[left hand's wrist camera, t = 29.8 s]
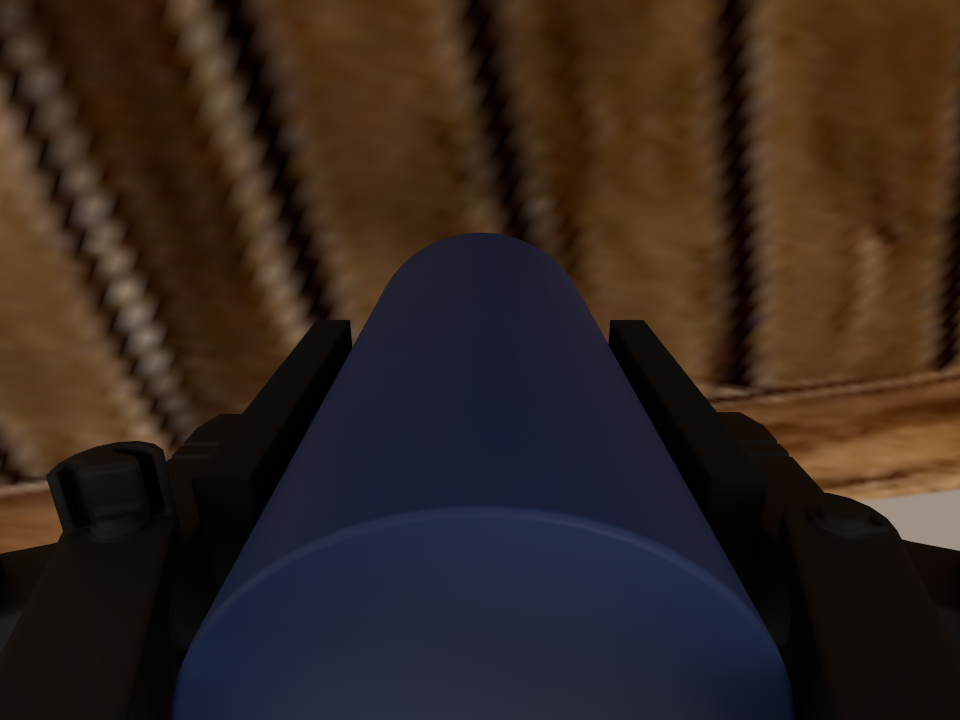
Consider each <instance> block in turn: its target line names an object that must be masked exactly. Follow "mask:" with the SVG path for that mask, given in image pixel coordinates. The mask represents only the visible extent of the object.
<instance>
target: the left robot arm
mask: <svg viewBox="0 0 960 720" xmlns="http://www.w3.org/2000/svg"><path fill="white" fill-rule="evenodd" d="M608 345H609V347H610V349H611V350H612V352H613V354H614V356H615V357H616V359H617V361H618V363H619V365H620V366H621V368H622V370H623V372H624V374H625V375H626V377H627V379H628V381H629V383H630V384H631V386H632V388H633V390H634V391H635V393H636V395H637V397H638V399H639V400H640V402H641V404H642V406H643V408H644V409H645V411H646V413H647V415H648V417H649V418H650V420H651V422H652V424H653V426H654V427H655V429H656V431H657V433H658V434H659V436H660V438H661V440H662V442H663V443H664V445H665V447H666V449H667V451H668V452H669V454H670V456H671V458H672V460H673V461H674V463H675V465H676V467H677V468H678V470H679V472H680V474H681V476H682V477H683V479H684V481H685V483H686V485H687V486H688V488H689V490H690V492H691V494H692V495H693V497H694V499H695V501H696V502H697V504H698V506H699V508H700V510H701V511H702V513H703V515H704V517H705V519H706V520H707V522H708V524H709V526H710V528H711V529H712V531H713V533H714V535H715V536H716V538H717V540H718V542H719V544H720V545H721V547H722V549H723V551H724V553H725V554H726V556H727V558H728V560H729V562H730V563H731V565H732V567H733V569H734V570H735V572H736V574H737V576H738V578H739V579H740V581H741V583H742V585H743V587H744V588H745V590H746V592H747V594H748V596H749V597H750V599H751V601H752V603H753V604H754V606H755V608H756V610H757V612H758V613H759V615H760V617H761V619H762V621H763V622H764V624H765V626H766V628H767V630H768V631H769V633H770V635H771V637H772V638H773V640H774V642H775V644H776V646H777V647H778V650H779V652H780V655H781V657H782V660H783V662H784V665H785V668H786V670H787V673H788V675H789V678H790V684H791V689H792V695H793V700H794V706H795V720H960V551H957V550H952V549H947V548H941V547H936V546H931V545H926V544H920V543H915V542H910V541H906V540H902V539H901V537H900V535H899V533H898V531H897V530H896V529H895V527H894V526H893V525H892V524H891V523H890V521H889V520H888V519H887V518H886V517H884V516H883V515H881V514H880V513H878V512H877V511H875V510H874V509H873V508H871V507H869V506H867V505H865V504H862V503H860V502H858V501H855V500H853V499H851V498H847V497H843V496H839V495H835V494H831V493H824V492H823V491H822V490H821V488H820V487H819V486H818V485H817V484H816V483H815V482H814V481H813V480H812V479H811V477H810V476H809V475H808V474H807V473H806V472H805V471H804V470H803V469H802V468H801V466H800V465H799V464H798V463H797V462H796V461H795V460H794V459H793V458H792V457H789V453H788V452H787V451H786V450H785V449H784V448H783V447H782V446H781V445H780V444H777V440H776V439H775V438H774V437H773V436H772V435H771V434H770V432H769V431H768V430H767V429H766V428H765V427H764V426H763V425H762V424H760V423H758V422H756V421H754V420H753V419H751V418H749V417H747V416H746V415H744V414H742V413H740V412H716V411H715V409H714V408H713V407H712V406H711V404H710V403H709V402H708V401H707V399H706V398H705V397H704V396H703V394H702V393H701V392H700V391H699V389H698V388H697V387H696V385H695V384H694V383H693V382H692V380H691V379H690V378H689V377H688V375H687V374H686V373H685V372H684V370H683V369H682V368H681V367H680V365H679V364H678V363H677V362H676V360H675V359H674V358H673V357H672V355H671V354H670V353H669V352H668V350H667V349H666V348H665V347H664V345H663V344H662V343H661V341H660V340H659V339H658V338H657V336H656V335H655V334H654V333H653V331H652V330H651V329H650V328H649V326H648V325H647V324H646V323H645V321H644V320H610V332H609V343H608ZM351 350H352V339H351V327H350V320H317V321H316V322H315V323H314V324H313V326H312V327H311V328H310V329H309V331H308V332H307V333H306V334H305V336H304V337H303V338H302V339H301V341H300V342H299V343H298V344H297V346H296V347H295V348H294V350H293V351H292V352H291V353H290V355H289V356H288V357H287V358H286V360H285V361H284V362H283V363H282V365H281V366H280V367H279V368H278V370H277V371H276V372H275V373H274V375H273V376H272V377H271V378H270V380H269V381H268V382H267V383H266V385H265V386H264V387H263V389H262V390H261V391H260V392H259V394H258V395H257V396H256V397H255V399H254V400H253V401H252V402H251V404H250V405H249V406H248V407H247V409H246V410H245V411H244V412H243V414H220V415H219V416H217V417H215V418H213V419H212V420H210V421H208V422H206V423H205V424H203V425H201V426H199V427H198V428H197V429H196V430H195V431H194V432H193V433H192V434H191V435H190V437H189V438H188V439H187V440H186V441H185V442H184V446H181V447H180V448H179V449H178V450H177V451H176V452H175V453H174V454H173V455H172V459H169V460H168V461H167V462H166V460H165V456H164V451H163V449H161V448H160V447H158V446H157V445H155V444H153V443H147V442H141V441H129V442H116V443H112V444H107V445H102V446H97V447H94V448H91V449H89V450H86V451H83V452H80V453H78V454H75V455H73V456H71V457H70V458H68V459H66V460H64V461H63V462H61V463H59V464H57V465H56V466H55V467H54V468H53V469H52V470H51V471H50V472H49V473H48V474H47V475H46V478H47V481H48V484H49V487H50V490H51V494H52V497H53V500H54V503H55V506H56V510H57V513H58V516H59V519H60V522H61V526H62V529H63V532H62V534H61V536H60V538H59V540H58V542H57V543H53V544H49V545H44V546H38V547H33V548H28V549H23V550H18V551H12V552H7V553H2V554H0V720H171V712H172V698H173V694H174V690H175V685H176V681H177V677H178V672H179V669H180V667H181V665H182V663H183V660H184V658H185V656H186V654H187V651H188V649H189V647H190V645H191V642H192V640H193V639H194V637H195V635H196V633H197V631H198V630H199V628H200V626H201V624H202V622H203V620H204V619H205V617H206V615H207V613H208V611H209V609H210V608H211V606H212V604H213V602H214V600H215V598H216V597H217V595H218V593H219V591H220V589H221V587H222V586H223V584H224V582H225V580H226V578H227V576H228V575H229V573H230V571H231V569H232V567H233V565H234V564H235V562H236V560H237V558H238V556H239V554H240V553H241V551H242V549H243V547H244V545H245V544H246V542H247V540H248V538H249V536H250V534H251V533H252V531H253V529H254V527H255V525H256V523H257V522H258V520H259V518H260V516H261V514H262V512H263V511H264V509H265V507H266V505H267V503H268V501H269V500H270V498H271V496H272V494H273V492H274V490H275V489H276V487H277V485H278V483H279V481H280V479H281V478H282V476H283V474H284V472H285V470H286V469H287V467H288V465H289V463H290V461H291V459H292V458H293V456H294V454H295V452H296V450H297V448H298V447H299V445H300V443H301V441H302V439H303V437H304V436H305V434H306V432H307V430H308V428H309V426H310V425H311V423H312V421H313V419H314V417H315V415H316V414H317V412H318V410H319V408H320V406H321V404H322V403H323V401H324V399H325V397H326V395H327V394H328V392H329V390H330V388H331V386H332V384H333V383H334V381H335V379H336V377H337V375H338V373H339V372H340V370H341V368H342V366H343V364H344V362H345V361H346V359H347V357H348V355H349V353H350V351H351Z"/></svg>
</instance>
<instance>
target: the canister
mask: <svg viewBox="0 0 960 720" xmlns="http://www.w3.org/2000/svg"><path fill="white" fill-rule="evenodd" d="M171 720H795V706H794V700H793V695H792V689H791V684H790V678H789V675H788V673H787V670H786V668H785V665H784V662H783V660H782V657H781V655H780V652H779V650H778V647H777V646H776V644H775V642H774V640H773V638H772V637H771V635H770V633H769V631H768V630H767V628H766V626H765V624H764V622H763V621H762V619H761V617H760V615H759V613H758V612H757V610H756V608H755V606H754V604H753V603H752V601H751V599H750V597H749V596H748V594H747V592H746V590H745V588H744V587H743V585H742V583H741V581H740V579H739V578H738V576H737V574H736V572H735V570H734V569H733V567H732V565H731V563H730V562H729V560H728V558H727V556H726V554H725V553H724V551H723V549H722V547H721V545H720V544H719V542H718V540H717V538H716V536H715V535H714V533H713V531H712V529H711V528H710V526H709V524H708V522H707V520H706V519H705V517H704V515H703V513H702V511H701V510H700V508H699V506H698V504H697V502H696V501H695V499H694V497H693V495H692V494H691V492H690V490H689V488H688V486H687V485H686V483H685V481H684V479H683V477H682V476H681V474H680V472H679V470H678V468H677V467H676V465H675V463H674V461H673V460H672V458H671V456H670V454H669V452H668V451H667V449H666V447H665V445H664V443H663V442H662V440H661V438H660V436H659V434H658V433H657V431H656V429H655V427H654V426H653V424H652V422H651V420H650V418H649V417H648V415H647V413H646V411H645V409H644V408H643V406H642V404H641V402H640V400H639V399H638V397H637V395H636V393H635V391H634V390H633V388H632V386H631V384H630V383H629V381H628V379H627V377H626V375H625V374H624V372H623V370H622V368H621V366H620V365H619V363H618V361H617V359H616V357H615V356H614V354H613V352H612V350H611V349H610V347H609V345H608V343H607V341H606V340H605V338H604V336H603V334H602V332H601V331H600V329H599V327H598V325H597V323H596V322H595V320H594V318H593V316H592V315H591V313H590V311H589V309H588V307H587V306H586V304H585V302H584V300H583V298H582V297H581V295H580V293H579V291H578V290H577V288H576V286H575V285H574V283H573V281H572V280H571V278H570V277H569V276H568V274H567V273H566V272H565V271H564V269H563V268H562V267H561V266H560V265H559V264H558V263H557V262H556V261H555V260H553V259H552V258H551V257H550V256H549V255H547V254H546V253H544V252H543V251H541V250H540V249H538V248H536V247H535V246H533V245H531V244H529V243H527V242H524V241H521V240H519V239H516V238H513V237H509V236H504V235H500V234H491V233H470V234H463V235H457V236H452V237H449V238H446V239H443V240H440V241H438V242H436V243H433V244H431V245H429V246H427V247H425V248H424V249H422V250H421V251H419V252H418V253H416V254H415V255H413V256H412V257H411V258H410V259H409V260H407V261H406V262H405V263H404V264H403V265H402V266H401V267H400V268H399V269H398V271H397V272H396V273H395V274H394V275H393V277H392V278H391V280H390V281H389V283H388V284H387V286H386V287H385V289H384V291H383V293H382V295H381V297H380V298H379V300H378V302H377V304H376V306H375V308H374V309H373V311H372V313H371V315H370V317H369V318H368V320H367V322H366V324H365V326H364V328H363V329H362V331H361V333H360V335H359V337H358V339H357V340H356V342H355V344H354V346H353V348H352V350H351V351H350V353H349V355H348V357H347V359H346V361H345V362H344V364H343V366H342V368H341V370H340V372H339V373H338V375H337V377H336V379H335V381H334V383H333V384H332V386H331V388H330V390H329V392H328V394H327V395H326V397H325V399H324V401H323V403H322V404H321V406H320V408H319V410H318V412H317V414H316V415H315V417H314V419H313V421H312V423H311V425H310V426H309V428H308V430H307V432H306V434H305V436H304V437H303V439H302V441H301V443H300V445H299V447H298V448H297V450H296V452H295V454H294V456H293V458H292V459H291V461H290V463H289V465H288V467H287V469H286V470H285V472H284V474H283V476H282V478H281V479H280V481H279V483H278V485H277V487H276V489H275V490H274V492H273V494H272V496H271V498H270V500H269V501H268V503H267V505H266V507H265V509H264V511H263V512H262V514H261V516H260V518H259V520H258V522H257V523H256V525H255V527H254V529H253V531H252V533H251V534H250V536H249V538H248V540H247V542H246V544H245V545H244V547H243V549H242V551H241V553H240V554H239V556H238V558H237V560H236V562H235V564H234V565H233V567H232V569H231V571H230V573H229V575H228V576H227V578H226V580H225V582H224V584H223V586H222V587H221V589H220V591H219V593H218V595H217V597H216V598H215V600H214V602H213V604H212V606H211V608H210V609H209V611H208V613H207V615H206V617H205V619H204V620H203V622H202V624H201V626H200V628H199V630H198V631H197V633H196V635H195V637H194V639H193V640H192V642H191V645H190V647H189V649H188V651H187V654H186V656H185V658H184V660H183V663H182V665H181V667H180V669H179V672H178V677H177V681H176V685H175V690H174V694H173V698H172V712H171Z"/></svg>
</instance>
